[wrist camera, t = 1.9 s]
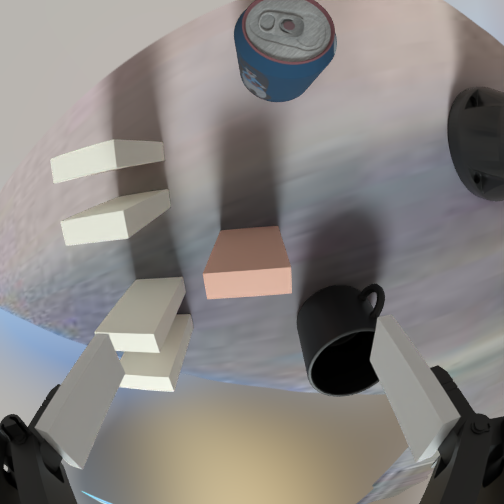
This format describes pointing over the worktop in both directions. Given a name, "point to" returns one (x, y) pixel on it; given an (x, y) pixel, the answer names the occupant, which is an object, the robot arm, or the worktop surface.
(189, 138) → the worktop surface
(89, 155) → the domino
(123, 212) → the domino
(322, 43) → the soda can
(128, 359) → the domino
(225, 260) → the domino
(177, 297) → the domino
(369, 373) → the mug
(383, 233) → the worktop surface
